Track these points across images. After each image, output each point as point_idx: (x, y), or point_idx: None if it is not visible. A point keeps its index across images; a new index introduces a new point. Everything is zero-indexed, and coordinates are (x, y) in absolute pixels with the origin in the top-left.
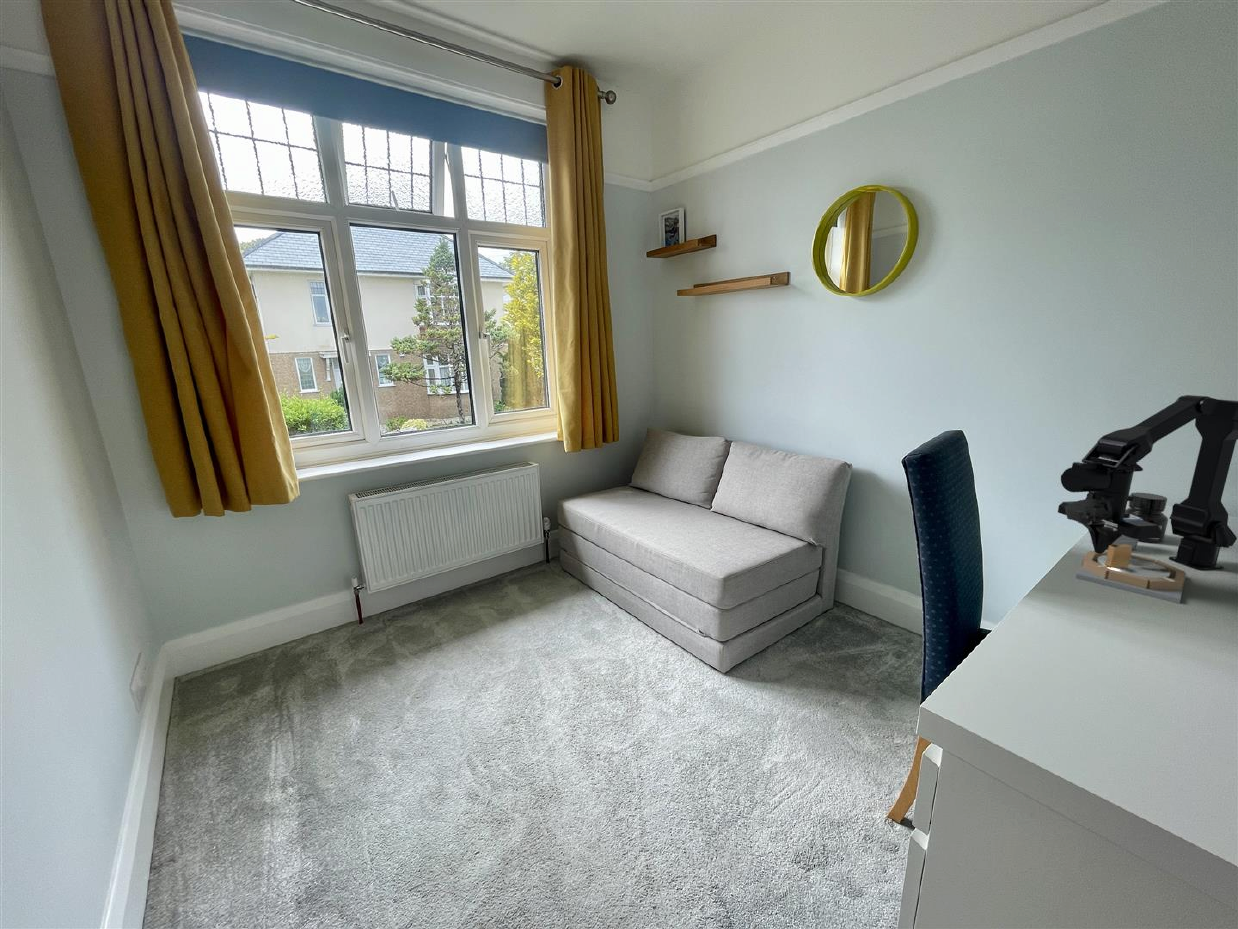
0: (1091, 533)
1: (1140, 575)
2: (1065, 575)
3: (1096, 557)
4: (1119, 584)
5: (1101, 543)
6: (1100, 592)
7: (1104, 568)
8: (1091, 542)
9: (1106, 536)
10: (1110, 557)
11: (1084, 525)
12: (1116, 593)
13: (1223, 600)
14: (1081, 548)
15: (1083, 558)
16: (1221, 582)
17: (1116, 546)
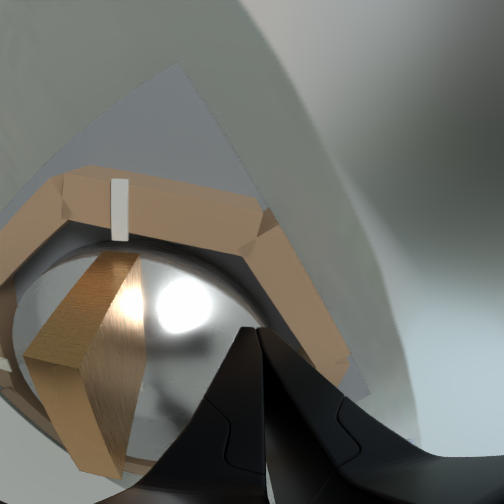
0: (368, 437)
1: (18, 305)
2: (224, 42)
3: (306, 359)
4: (29, 180)
5: (215, 387)
6: (30, 52)
7: (92, 195)
8: (410, 440)
9: (149, 477)
10: (87, 286)
11: (496, 461)
12: (9, 117)
13: (11, 402)
14: (410, 400)
15: (279, 227)
16: (123, 482)
17: (43, 387)
